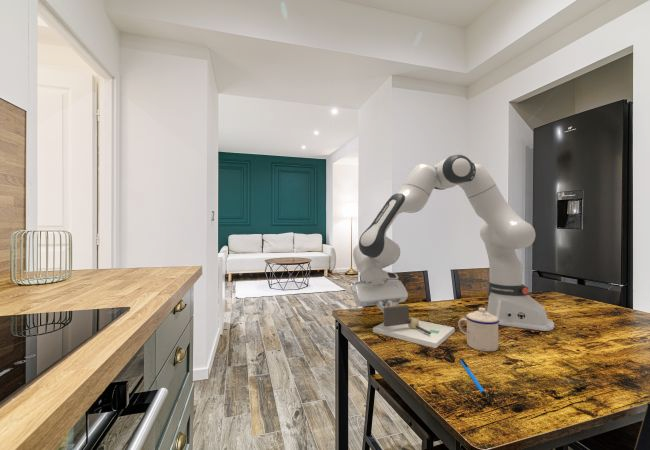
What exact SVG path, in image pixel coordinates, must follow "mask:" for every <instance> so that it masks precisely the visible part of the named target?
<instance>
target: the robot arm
mask: <svg viewBox="0 0 650 450" xmlns="http://www.w3.org/2000/svg"><path fill="white" fill-rule="evenodd" d="M456 186H458V187H460V188H461V189H462V190H463V191H464V194H465V196H466V197H467V199H468V201H469V204H470V205H471V207H472V209H473V210H474V212H475V214H476V215H477V216H478V217H479V218H480V219H482V220H483V221H484V224H483V225H482V226H481V228H480V231H479V234H480V238H481V240H482V241H483V243H484V246H485V250H486V253H487V258H488V262H489V263H488V264H489V266H488V267H489V282H488V283H487V294H488V302H487V308H486V312H489V313H490V314H492V315H494V316H496V317H497V318H498V319H499V323H498V326H499V325H500V326H503V327H504V326H507V327H513V328H518V329H519V328H520V329H527V330H535V331H543V332H550V331H553V330H554V328H555V323H554V321H553V320H552V319H549V318H548V315H547V312H546V309H545V307H544V306H543V305H542V304H541V303H539V302H538V301H536V300H535V299H534V298H533V297H532V296H531V295H529V292H530V291H529V286H527V285H525V284H523V264H522V262H521V261H520V259H519V258H518V256H517V252H516V250H519V249H520V250H521V249H525V248H528V247H530V246H531V245H532V244H533V243H534V242H535V240H536V231H535V228H534V226H533V225H532V224H531V223H529V222H528V221H525V220H524V219H523V218H522V217H521V216H519V214H517V212H516V211H515V210H514V209H513V208H512V207H511V205H509V203H508V202H507V200H506V199H505V198H504V196H503V194H502V193H501V191H500V188H499V187H498V185H497V184H496V182H495V181H494V179H493V177H492V176H491V174H490V173H489V172H488V170H486V168H485V167H484V166H483V165H482V164H479V163H474V162H472V160H470V158H469V157H467V156H465V155H462V154H454V155H450V156H448V157H447V158H444V159H441V161H439V162H438V163H436V164H435V165H433V166H432V165H429V164H426V163H418V164H417V165H416V166H414V167H413V169H412V170H411V171H410V172H409V174H408V176H406V179H405V180H404V182H403V184H402V186H401V187H400V189H399V190H398V191H397V192H396V193H394V194H393V195H391V196H390V197H389V198H388V200H387V201H386V202H385V203H384V205H383V206H382V208H381V209H380V211H379V212H378V213H377V215H376V217H375V218H374V219H373V221H372V222H371V224H370V225H369V226H368V227H367V228H366V230H364V232H363V233H362V234H361V235H360V237H359V241H358V244H357V245H355V247H354V249H353V251H352V253H353V254H352V257H353V261H354V264H355V267H356V269H357V270H358V272H359V275H360V279H361V281H353V282H352V283H351V284H350V289H351V292H352V293H353V299H354V303H355V305H356V306H357V307H359V308H362V307H369V306H376V307H377V308H378V310H380V311H381V312H382V314H383V315H384V307H385V304H386V306H388V307H392V303H398V302H399V303H405V302H406V300H407V299H408V297H409V294H408V293H409V292H408V291H407V289H406V287H405V285H404V284H403V282H402V281H401V280H399V276H398V273H395V272H390V271H386V270H383V269H384V268H387V267H389V266H392V265H393V264H395V263H396V262H397V261H398V260H399V258H400V256H401V248H400V246H399V244H398V243H396V242H395V241H394V240H392V239H391V238H390V237H388V236H387V231H388V229H389V228H390V227H391V225H392V224H393V222H394V221H395V220H396V218H397V217H398V215H400V214H402V213H407V214H408V213H409V214H414V213H418V212H420V211H421V210H422V209H423V208H424V207H425V205H426V204H427V202H428V201H429V198H430V196H431V195H432V192H433V190H434V189H435V190H439V191H441V190H447V189H450V188H454V187H456Z"/></svg>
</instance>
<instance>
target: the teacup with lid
mask: <svg viewBox="0 0 650 450" xmlns="http://www.w3.org/2000/svg"><path fill="white" fill-rule="evenodd" d="M486 311H487V308H484V307H479V308H478V310H475V311H472V312H469V313H467V314H466V316H465V317H462V318H459V319H458V323H457V324H458V327H459V330H460V332H461V333H463V334H465V335H466V344H467V346H469V347H470V348H472V349H474V350H476V351H477V350H478V351H481V352H495V351H497V350H498V349H499V324H498V323H499V319H498V318H497V317H496V316H494V315H492V314H490V313H489V312H486ZM463 321H464V322H466V330H465V329H464V328H463V325H462V322H463Z"/></svg>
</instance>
